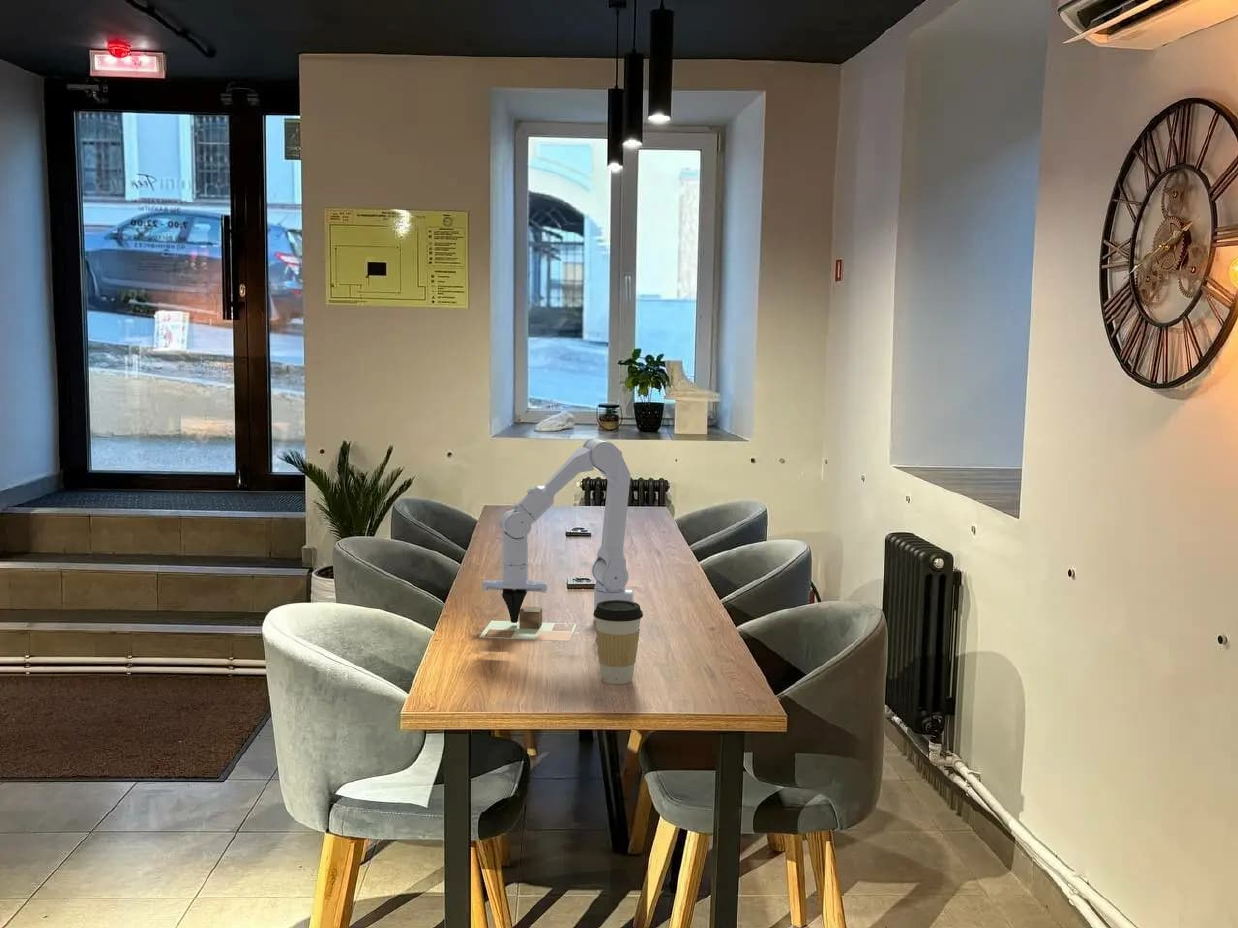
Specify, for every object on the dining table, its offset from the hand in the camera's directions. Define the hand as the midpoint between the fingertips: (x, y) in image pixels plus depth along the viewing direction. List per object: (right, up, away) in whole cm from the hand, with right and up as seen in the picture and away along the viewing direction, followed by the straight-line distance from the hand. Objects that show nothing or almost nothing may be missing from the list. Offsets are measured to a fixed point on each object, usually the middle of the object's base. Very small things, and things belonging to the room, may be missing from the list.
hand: (514, 621), depth 242 cm
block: (+4, -1, 0) cm, 4 cm away
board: (+4, -3, -3) cm, 6 cm away
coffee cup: (+23, -7, -32) cm, 40 cm away
